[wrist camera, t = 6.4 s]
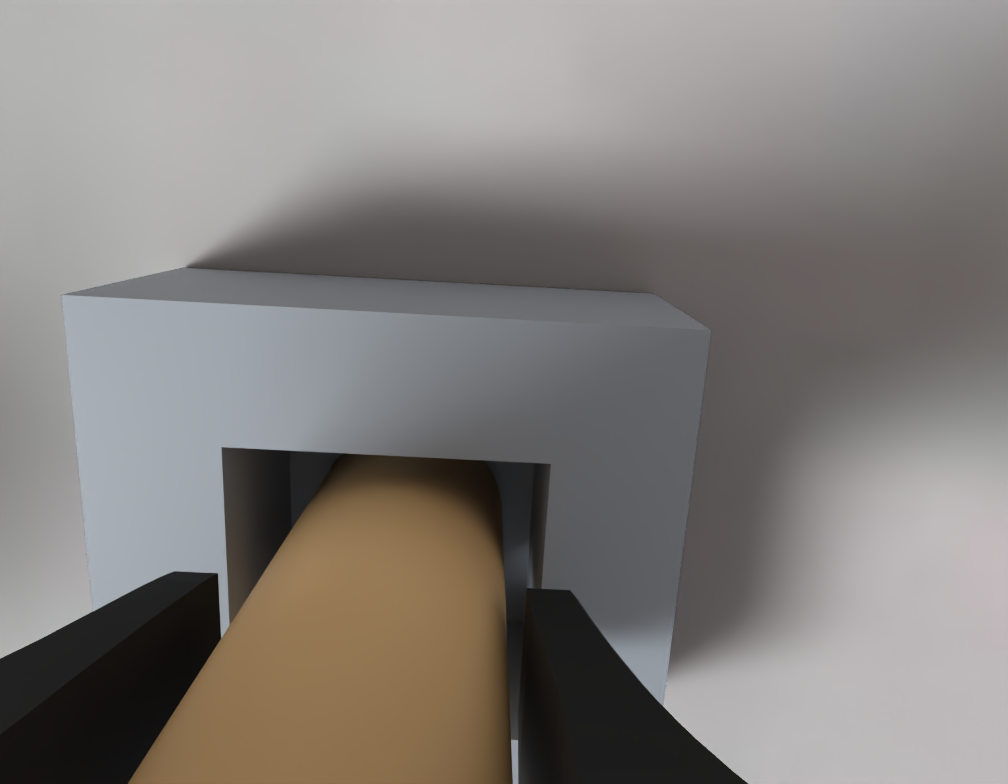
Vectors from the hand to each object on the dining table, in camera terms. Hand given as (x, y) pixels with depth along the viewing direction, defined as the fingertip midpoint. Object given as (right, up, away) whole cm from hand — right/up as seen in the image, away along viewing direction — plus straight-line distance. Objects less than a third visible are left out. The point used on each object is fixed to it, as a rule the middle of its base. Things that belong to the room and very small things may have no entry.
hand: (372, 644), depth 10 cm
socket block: (0, +1, +5) cm, 5 cm away
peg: (0, +1, +4) cm, 4 cm away
